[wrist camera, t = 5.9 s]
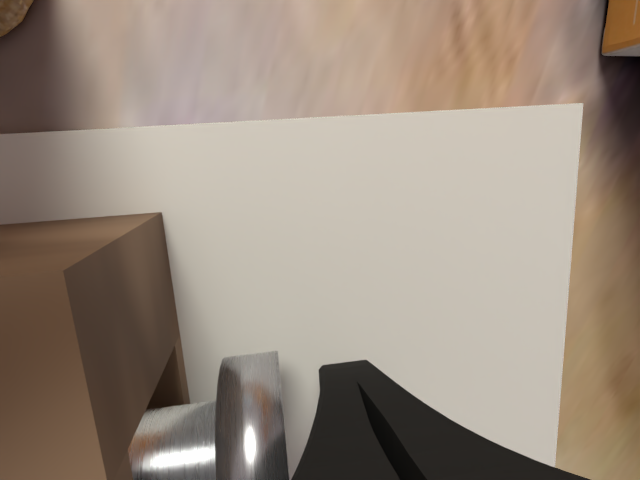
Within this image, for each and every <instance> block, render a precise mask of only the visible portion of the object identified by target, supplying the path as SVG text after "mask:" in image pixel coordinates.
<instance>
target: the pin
mask: <svg viewBox="0 0 640 480" xmlns="http://www.w3.org/2000/svg"><path fill="white" fill-rule="evenodd" d="M128 454H129V460H130V465H131V470H132V475H133V480H290V478H289V467H288V455H287V444H286V433H285V421H284V410H283V399H282V388H281V378H280V367H279V357H278V351H271V352H263V353H255V354H246V355H238V356H230V357H224V358H223V359H222V362H221V365H220V370H219V376H218V384H217V395H216V400H214V401H207V402H200V403H192V404H185V405H177V406H170V407H162V408H155V409H147V410H145V412H144V415H143V417H142V419H141V421H140V423H139V426H138V428H137V430H136V432H135V434H134V437H133V439H132V441H131V443H130V445H129V448H128Z"/></svg>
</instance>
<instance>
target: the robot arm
mask: <svg viewBox="0 0 640 480" xmlns="http://www.w3.org/2000/svg"><path fill="white" fill-rule="evenodd" d="M319 383H320V394H319V400H318V405H317V410H316V414H315V418H314V421H313V425H312V428H311V432H310V435H309V438H308V441H307V444H306V446H305V449H304V452H303V454H302V457H301V459H300V461H299V464H298V466H297V468H296V471H295V473H294V475H293V477H292V479H291V480H590V479H587V478H584V477H581V476H578V475H575V474H572V473H569V472H566V471H563V470H560V469H557V468H555V467H552V466H549V465H547V464H544V463H541V462H539V461H536V460H534V459H531V458H529V457H527V456H524V455H522V454H519V453H517V452H515V451H512V450H510V449H508V448H505V447H503V446H501V445H499V444H497V443H494V442H492V441H490V440H488V439H486V438H484V437H482V436H480V435H478V434H476V433H475V432H473V431H471V430H469V429H467V428H465V427H463V426H461V425H459V424H458V423H456V422H454V421H452V420H451V419H449V418H447V417H446V416H444V415H443V414H441V413H439V412H438V411H436V410H435V409H433V408H431V407H430V406H428V405H427V404H425V403H424V402H422V401H421V400H419V399H418V398H416V397H415V396H414V395H412V394H411V393H409V392H408V391H407V390H405V389H404V388H402V387H401V386H400V385H399V384H397V383H396V382H395V381H393V380H392V379H391V378H389V377H388V376H387V375H386V374H384V373H383V372H382V371H380V370H379V369H378V368H377V367H375V366H374V365H373V364H372V363H370V362H369V361H368V360H359V361H351V362H343V363H335V364H327V365H322V366H321V368H320V369H319Z"/></svg>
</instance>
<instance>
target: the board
mask: <svg viewBox="0 0 640 480" xmlns="http://www.w3.org/2000/svg"><path fill="white" fill-rule="evenodd" d="M582 113H583V103H575V104H557V105H538V106H519V107H500V108H482V109H463V110H444V111H426V112H407V113H388V114H369V115H351V116H332V117H313V118H295V119H276V120H257V121H238V122H220V123H201V124H182V125H164V126H145V127H126V128H108V129H89V130H70V131H51V132H33V133H14V134H0V225H2V224H15V223H28V222H41V221H54V220H66V219H79V218H92V217H105V216H117V215H130V214H143V213H156V212H162V217H163V224H164V230H165V237H166V244H167V251H168V257H169V264H170V271H171V278H172V284H173V291H174V298H175V304H176V311H177V318H178V325H179V331H180V338H181V345H182V351H183V358H184V365H185V372H186V378H187V385H188V392H189V398H190V404H192V403H200V402H207V401H214V400H216V395H217V384H218V376H219V370H220V365H221V362H222V359H223V358H224V357H230V356H238V355H246V354H255V353H263V352H271V351H278V357H279V367H280V378H281V388H282V399H283V410H284V421H285V433H286V444H287V455H288V467H289V478H290V480H291V479H292V477H293V475H294V473H295V471H296V468H297V466H298V464H299V461H300V459H301V457H302V454H303V452H304V449H305V446H306V444H307V441H308V438H309V435H310V432H311V428H312V425H313V421H314V418H315V414H316V410H317V405H318V400H319V394H320V383H319V369H320V368H321V366H322V365H327V364H335V363H343V362H351V361H359V360H368V361H369V362H370V363H372V364H373V365H374V366H375V367H377V368H378V369H379V370H380V371H382V372H383V373H384V374H386V375H387V376H388V377H389V378H391V379H392V380H393V381H395V382H396V383H397V384H399V385H400V386H401V387H402V388H404V389H405V390H407V391H408V392H409V393H411V394H412V395H414V396H415V397H416V398H418V399H419V400H421V401H422V402H424V403H425V404H427V405H428V406H430V407H431V408H433V409H435V410H436V411H438V412H439V413H441V414H443V415H444V416H446V417H447V418H449V419H451V420H452V421H454V422H456V423H458V424H459V425H461V426H463V427H465V428H467V429H469V430H471V431H473V432H475V433H476V434H478V435H480V436H482V437H484V438H486V439H488V440H490V441H492V442H494V443H497V444H499V445H501V446H503V447H505V448H508V449H510V450H512V451H515V452H517V453H519V454H522V455H524V456H527V457H529V458H531V459H534V460H536V461H539V462H541V463H544V464H547V465H549V466H552V467H555V459H556V446H557V434H558V421H559V408H560V395H561V382H562V370H563V357H564V344H565V331H566V318H567V305H568V293H569V280H570V267H571V254H572V241H573V229H574V216H575V203H576V190H577V177H578V164H579V152H580V139H581V126H582Z"/></svg>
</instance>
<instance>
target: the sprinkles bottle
mask: <svg viewBox="0 0 640 480" xmlns="http://www.w3.org/2000/svg"><path fill="white" fill-rule="evenodd" d="M32 2H33V0H0V37H1V36H3V35H5V34H7V33H8V32H9V31H10V30H12V29H13V28H14V27H15V26H17V25H18V24H19V23H21V22H22V21H23V19H24V17H25V15H26V13H27V11H28V8H29V7H30V5H31V4H32Z"/></svg>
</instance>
